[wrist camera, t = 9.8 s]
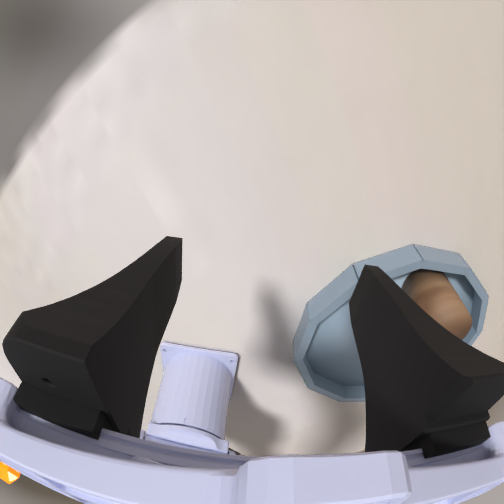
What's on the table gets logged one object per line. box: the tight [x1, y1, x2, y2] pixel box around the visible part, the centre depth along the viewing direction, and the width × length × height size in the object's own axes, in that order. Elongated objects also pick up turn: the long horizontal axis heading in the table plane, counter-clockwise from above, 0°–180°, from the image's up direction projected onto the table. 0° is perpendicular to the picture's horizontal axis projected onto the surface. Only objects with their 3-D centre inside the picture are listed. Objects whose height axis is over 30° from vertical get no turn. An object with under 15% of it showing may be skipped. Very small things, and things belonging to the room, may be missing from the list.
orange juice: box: [0, 462, 20, 484], centre depth 76 cm, size 8×9×20 cm
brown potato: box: [402, 268, 472, 340], centre depth 22 cm, size 4×4×6 cm
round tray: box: [293, 244, 489, 402], centre depth 28 cm, size 20×20×2 cm
